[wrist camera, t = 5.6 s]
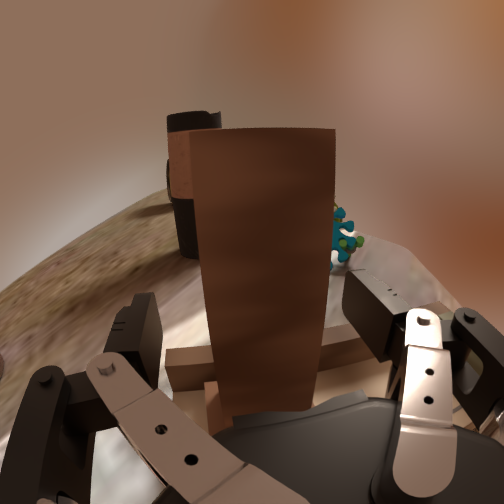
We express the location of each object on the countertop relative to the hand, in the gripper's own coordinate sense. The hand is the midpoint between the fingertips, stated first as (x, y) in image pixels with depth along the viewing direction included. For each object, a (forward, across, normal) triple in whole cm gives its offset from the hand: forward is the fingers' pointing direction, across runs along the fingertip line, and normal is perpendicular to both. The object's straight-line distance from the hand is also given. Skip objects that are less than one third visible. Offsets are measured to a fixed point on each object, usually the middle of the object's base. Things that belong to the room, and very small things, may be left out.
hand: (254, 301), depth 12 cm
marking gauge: (-1, 0, +8) cm, 8 cm away
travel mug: (+32, +2, +10) cm, 33 cm away
